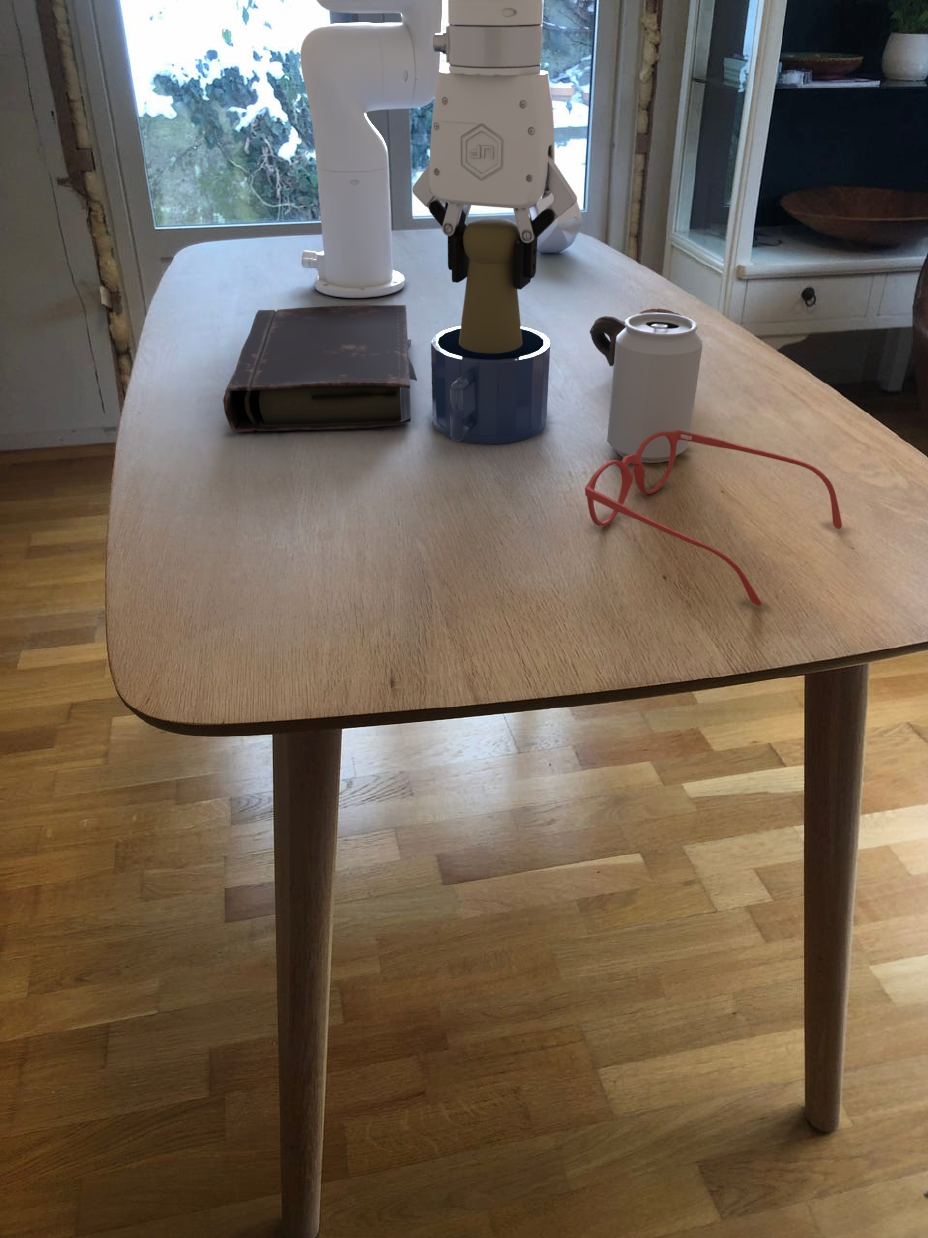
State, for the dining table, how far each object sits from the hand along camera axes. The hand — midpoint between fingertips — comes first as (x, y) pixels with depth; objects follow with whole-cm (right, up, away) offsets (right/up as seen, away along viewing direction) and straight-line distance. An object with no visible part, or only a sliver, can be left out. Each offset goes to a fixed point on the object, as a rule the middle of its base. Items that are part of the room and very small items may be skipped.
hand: (491, 279), depth 87 cm
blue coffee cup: (-1, -12, +6) cm, 14 cm away
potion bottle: (+10, +29, +67) cm, 74 cm away
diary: (-17, -6, +16) cm, 24 cm away
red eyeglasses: (+17, -24, -11) cm, 32 cm away
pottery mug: (+17, -4, +18) cm, 25 cm away
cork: (0, -5, +3) cm, 6 cm away
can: (+14, -15, +2) cm, 21 cm away
